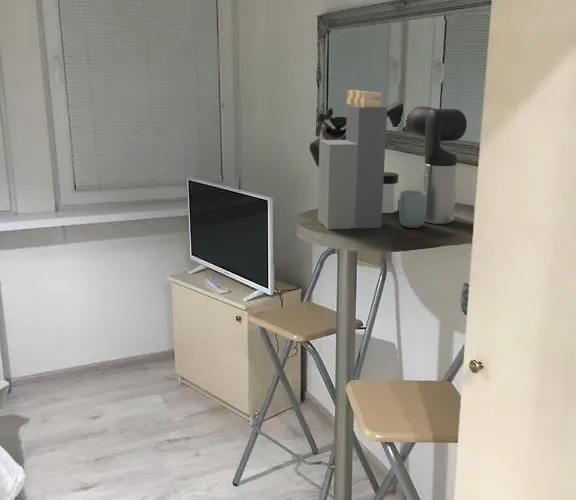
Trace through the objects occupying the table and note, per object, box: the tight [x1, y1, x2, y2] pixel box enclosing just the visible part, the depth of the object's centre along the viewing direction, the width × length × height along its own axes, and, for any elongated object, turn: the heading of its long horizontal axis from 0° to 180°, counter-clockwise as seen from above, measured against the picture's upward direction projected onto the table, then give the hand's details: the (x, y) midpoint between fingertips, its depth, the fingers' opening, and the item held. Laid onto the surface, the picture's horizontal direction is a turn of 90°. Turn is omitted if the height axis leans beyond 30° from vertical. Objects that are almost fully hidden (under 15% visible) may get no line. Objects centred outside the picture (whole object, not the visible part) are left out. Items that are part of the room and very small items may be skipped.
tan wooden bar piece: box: [346, 89, 382, 107], centre depth 189 cm, size 21×5×4 cm, turn 11°
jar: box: [382, 171, 400, 214], centre depth 210 cm, size 9×8×12 cm
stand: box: [317, 104, 388, 230], centre depth 188 cm, size 12×16×34 cm
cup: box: [398, 190, 427, 229], centre depth 189 cm, size 8×8×10 cm
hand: (344, 110), depth 204 cm, fingers open, 8 cm apart
